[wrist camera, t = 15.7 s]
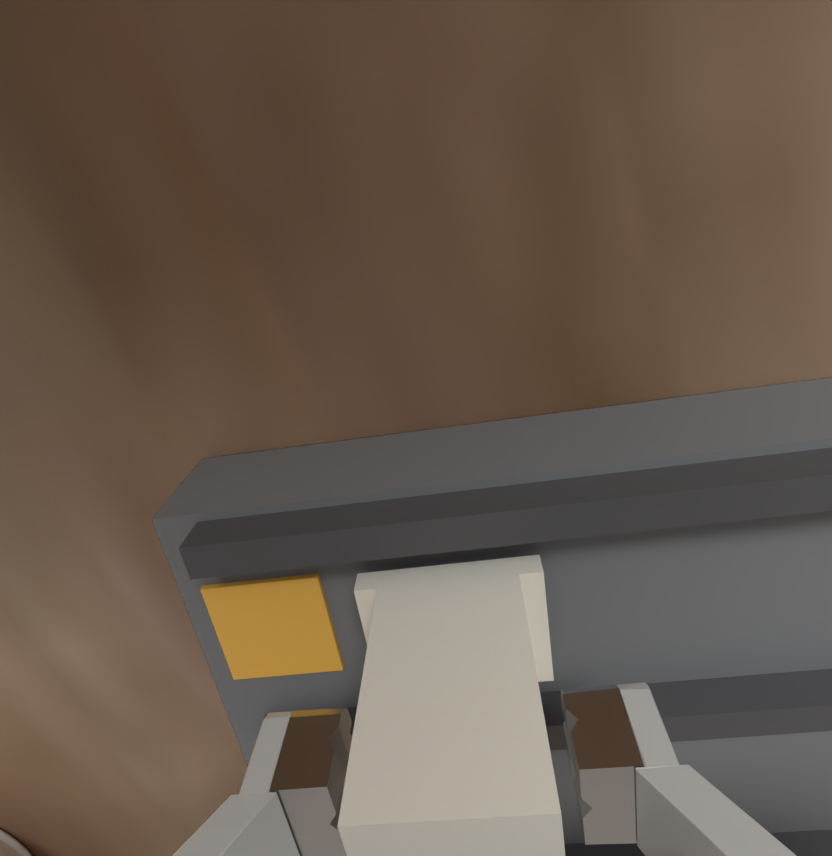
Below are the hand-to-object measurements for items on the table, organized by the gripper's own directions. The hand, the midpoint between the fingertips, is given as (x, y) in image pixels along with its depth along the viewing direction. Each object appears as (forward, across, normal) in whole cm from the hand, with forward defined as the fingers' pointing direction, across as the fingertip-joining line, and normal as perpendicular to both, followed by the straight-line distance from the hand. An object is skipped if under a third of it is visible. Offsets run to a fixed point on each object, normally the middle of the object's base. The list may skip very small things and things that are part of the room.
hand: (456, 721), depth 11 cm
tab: (+3, 0, 0) cm, 3 cm away
